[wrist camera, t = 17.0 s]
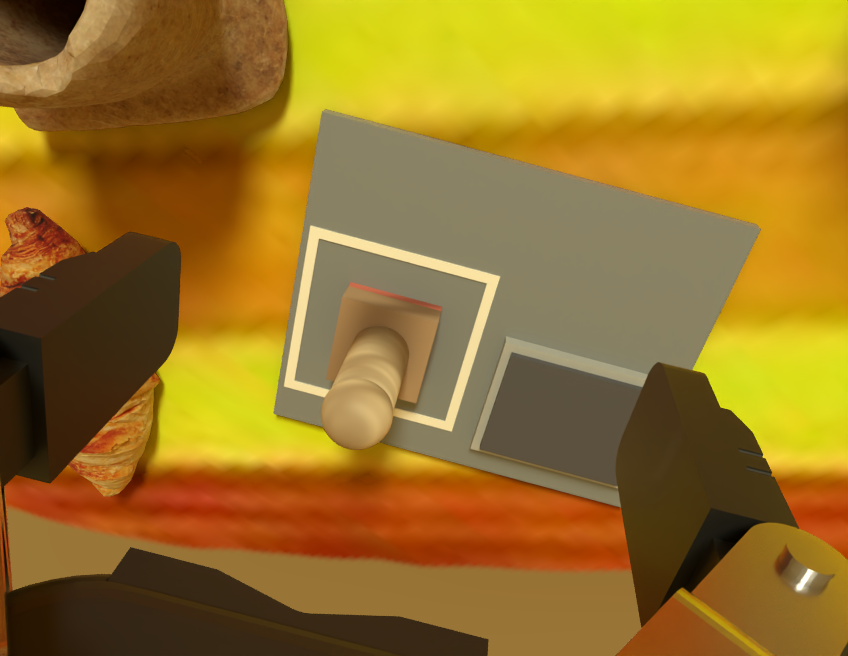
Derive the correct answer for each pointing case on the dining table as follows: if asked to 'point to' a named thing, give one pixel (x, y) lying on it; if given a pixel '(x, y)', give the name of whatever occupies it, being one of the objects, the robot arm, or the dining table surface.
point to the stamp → (375, 362)
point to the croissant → (130, 427)
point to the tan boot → (138, 60)
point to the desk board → (505, 297)
